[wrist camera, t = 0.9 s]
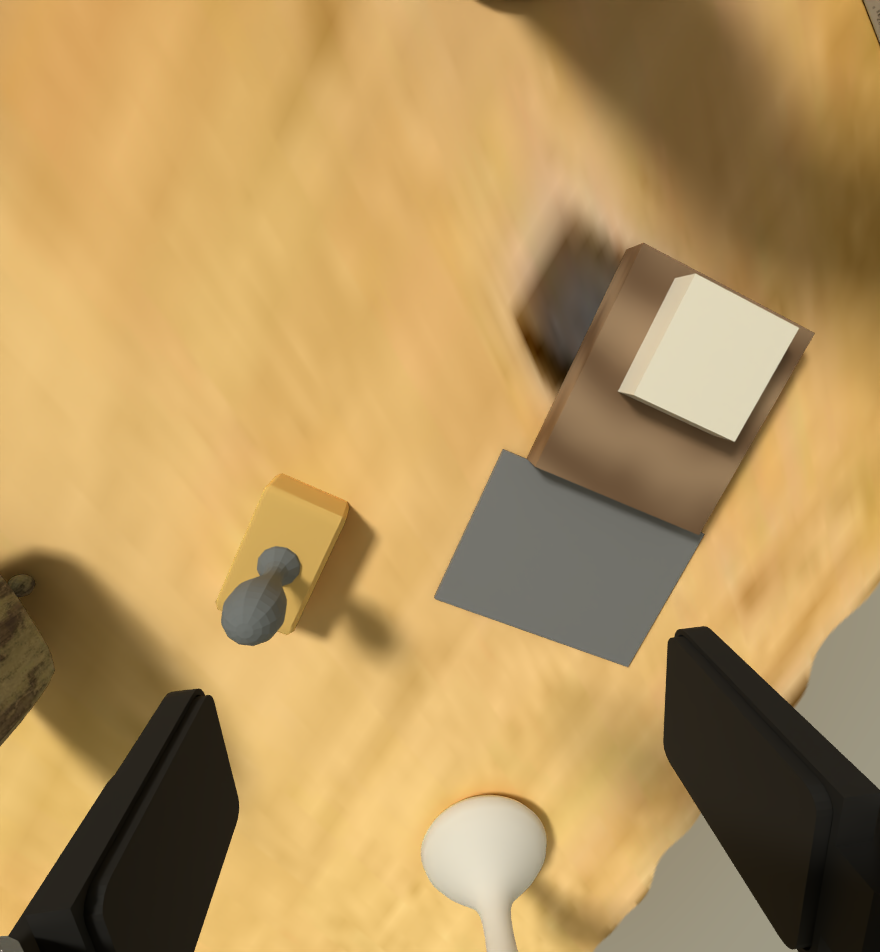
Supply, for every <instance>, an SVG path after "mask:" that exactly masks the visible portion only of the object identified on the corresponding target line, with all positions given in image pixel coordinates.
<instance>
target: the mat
mask: <svg viewBox="0 0 880 952" xmlns="http://www.w3.org/2000/svg"><path fill="white" fill-rule="evenodd" d="M703 536H704V534H703V533H702V532H700V534H699V535H697V534H695V533H693V532H690V531H688V530H685V529H683V528H681V527H678V526H676V525H673V524H671V523H669V522H666V521H664V520H661V519H659V518H657V517H654V516H652V515H649V514H647V513H645V512H642V511H640V510H638V509H635V508H633V507H630V506H628V505H626V504H623V503H621V502H618V501H616V500H614V499H611V498H609V497H606V496H604V495H602V494H599V493H597V492H595V491H592V490H590V489H587V488H585V487H583V486H580V485H578V484H575V483H573V482H571V481H568V480H566V479H563V478H561V477H559V476H556V475H554V474H551V473H549V472H547V471H544V470H542V469H540V468H537V467H535V466H534V465H533V464H532V463H531V462H530V461H528V460H527V459H526V458H523V457H521V456H519V455H516V454H514V453H511V452H509V451H507V450H504V449H503V450H502V452H501V454H500V456H499V458H498V461H497V463H496V465H495V467H494V469H493V471H492V473H491V476H490V478H489V480H488V482H487V484H486V486H485V488H484V491H483V493H482V495H481V497H480V499H479V501H478V504H477V506H476V508H475V510H474V512H473V514H472V516H471V519H470V521H469V523H468V525H467V527H466V529H465V531H464V534H463V536H462V538H461V540H460V542H459V544H458V546H457V549H456V551H455V553H454V555H453V557H452V559H451V562H450V564H449V566H448V568H447V570H446V572H445V574H444V577H443V579H442V581H441V583H440V585H439V587H438V589H437V592H436V594H435V596H434V598H435V599H437V600H439V601H442V602H445V603H448V604H451V605H454V606H456V607H459V608H462V609H465V610H468V611H471V612H473V613H476V614H479V615H482V616H485V617H488V618H490V619H493V620H496V621H499V622H502V623H505V624H507V625H510V626H513V627H516V628H519V629H522V630H524V631H527V632H530V633H533V634H536V635H539V636H541V637H544V638H547V639H550V640H553V641H556V642H558V643H561V644H564V645H567V646H570V647H573V648H575V649H578V650H581V651H584V652H587V653H590V654H592V655H595V656H598V657H601V658H604V659H607V660H609V661H612V662H615V663H618V664H621V665H623V666H626V667H628V666H629V664H630V663H631V661H632V659H633V657H634V656H635V654H636V652H637V651H638V649H639V647H640V645H641V644H642V642H643V640H644V638H645V637H646V635H647V633H648V631H649V630H650V628H651V626H652V624H653V623H654V621H655V619H656V618H657V616H658V614H659V612H660V611H661V609H662V607H663V605H664V604H665V602H666V600H667V598H668V597H669V595H670V593H671V592H672V590H673V588H674V586H675V585H676V583H677V581H678V579H679V578H680V576H681V574H682V572H683V571H684V569H685V567H686V565H687V564H688V562H689V560H690V559H691V557H692V555H693V553H694V552H695V550H696V548H697V546H698V545H699V543H700V541H701V539H702V538H703Z"/></svg>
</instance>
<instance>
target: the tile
mask: <svg viewBox="0 0 880 952" xmlns="http://www.w3.org/2000/svg"><path fill="white" fill-rule="evenodd" d="M798 329H799V328H798V327H796V326H795V325H793V324H791V323H789V322H787V321H785V320H783V319H781V318H779V317H777V316H776V315H774V314H772V313H770V312H768V311H766V310H764V309H762V308H760V307H758V306H757V305H755V304H753V303H751V302H749V301H747V300H745V299H743V298H741V297H739V296H737V295H736V294H734V293H732V292H730V291H728V290H726V289H724V288H722V287H720V286H718V285H717V284H715V283H713V282H711V281H709V280H707V279H705V278H703V277H701V276H699V275H698V274H696V273H695V274H691V275H687V276H682V277H678V278H675V279H674V281H673V283H672V285H671V287H670V289H669V291H668V293H667V295H666V297H665V299H664V301H663V303H662V305H661V307H660V309H659V311H658V313H657V315H656V317H655V319H654V321H653V323H652V325H651V327H650V329H649V331H648V333H647V335H646V337H645V339H644V341H643V343H642V345H641V347H640V348H639V350H638V352H637V354H636V356H635V358H634V360H633V362H632V364H631V366H630V368H629V370H628V372H627V374H626V376H625V378H624V380H623V382H622V384H621V386H620V388H619V390H618V392H620V393H622V394H625V395H627V396H629V397H631V398H633V399H635V400H638V401H640V402H642V403H644V404H646V405H648V406H651V407H653V408H655V409H657V410H659V411H661V412H663V413H666V414H668V415H670V416H672V417H674V418H676V419H679V420H681V421H683V422H685V423H687V424H689V425H692V426H694V427H696V428H698V429H700V430H702V431H705V432H707V433H709V434H711V435H713V436H717V437H720V438H723V439H727V440H730V441H734V442H735V441H736V439H737V437H738V435H739V433H740V432H741V430H742V428H743V426H744V425H745V423H746V421H747V419H748V418H749V416H750V414H751V412H752V410H753V409H754V407H755V405H756V403H757V402H758V400H759V398H760V396H761V395H762V393H763V391H764V389H765V388H766V386H767V384H768V382H769V380H770V379H771V377H772V375H773V373H774V372H775V370H776V368H777V366H778V365H779V363H780V361H781V359H782V357H783V356H784V354H785V352H786V350H787V349H788V347H789V345H790V343H791V342H792V340H793V338H794V336H795V335H796V333H797V331H798Z"/></svg>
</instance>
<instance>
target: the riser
mask: <svg viewBox="0 0 880 952" xmlns="http://www.w3.org/2000/svg"><path fill="white" fill-rule="evenodd" d="M695 273H696V274H698V275H699V276H701V277H703V278H705V279H707V280H709V281H711V282H713V283H715V284H717V285H718V286H720V287H722V288H724V289H726V290H728V291H730V292H732V293H734V294H736V295H737V296H739V297H741V298H743V299H745V300H747V301H749V302H751V303H753V304H755V305H757V306H758V307H760V308H762V309H764V310H766V311H768V312H770V313H772V314H774V315H776V316H777V317H779V318H781V319H783V320H785V321H787V322H789V323H791V324H793V325H795V326H796V327H798V328H799V329H798V331H797V333H796V335H795V336H794V338H793V340H792V342H791V343H790V345H789V347H788V349H787V350H786V352H785V354H784V356H783V357H782V359H781V361H780V363H779V365H778V366H777V368H776V370H775V372H774V373H773V375H772V377H771V379H770V380H769V382H768V384H767V386H766V388H765V389H764V391H763V393H762V395H761V396H760V398H759V400H758V402H757V403H756V405H755V407H754V409H753V410H752V412H751V414H750V416H749V418H748V419H747V421H746V423H745V425H744V426H743V428H742V430H741V432H740V433H739V435H738V437H737V439H736V441H735V442H734V441H730V440H727V439H723V438H720V437H717V436H713V435H711V434H709V433H707V432H705V431H702V430H700V429H698V428H696V427H694V426H692V425H689V424H687V423H685V422H683V421H681V420H679V419H676V418H674V417H672V416H670V415H668V414H666V413H663V412H661V411H659V410H657V409H655V408H653V407H651V406H648V405H646V404H644V403H642V402H640V401H638V400H635V399H633V398H631V397H629V396H627V395H625V394H622V393H620V392H618V390H619V388H620V386H621V384H622V382H623V380H624V378H625V376H626V374H627V372H628V370H629V368H630V366H631V364H632V362H633V360H634V358H635V356H636V354H637V352H638V350H639V348H640V347H641V345H642V343H643V341H644V339H645V337H646V335H647V333H648V331H649V329H650V327H651V325H652V323H653V321H654V319H655V317H656V315H657V313H658V311H659V309H660V307H661V305H662V303H663V301H664V299H665V297H666V295H667V293H668V291H669V289H670V287H671V285H672V283H673V281H674V279H675V278H678V277H682V276H687V275H691V274H695ZM814 334H815V333H814V332H812V331H810V330H808V329H806V328H804V327H802V326H800V325H798V324H797V323H795V322H793V321H791V320H789V319H787V318H785V317H783V316H781V315H779V314H778V313H776V312H774V311H772V310H770V309H768V308H766V307H764V306H762V305H761V304H759V303H757V302H755V301H753V300H751V299H749V298H747V297H745V296H743V295H742V294H740V293H738V292H736V291H734V290H732V289H730V288H728V287H726V286H724V285H723V284H721V283H719V282H717V281H715V280H713V279H711V278H709V277H707V276H706V275H704V274H702V273H700V272H698V271H696V270H694V269H692V268H690V267H688V266H687V265H685V264H683V263H681V262H679V261H677V260H675V259H673V258H671V257H670V256H668V255H666V254H664V253H662V252H660V251H658V250H656V249H654V248H652V247H651V246H649V245H647V244H645V243H642V244H639V245H637V246H634V247H632V248H629V249H627V250H626V252H625V254H624V256H623V258H622V260H621V262H620V265H619V267H618V269H617V271H616V273H615V275H614V277H613V279H612V281H611V283H610V285H609V288H608V290H607V292H606V294H605V296H604V298H603V300H602V302H601V304H600V306H599V308H598V311H597V313H596V315H595V317H594V319H593V321H592V323H591V325H590V327H589V329H588V331H587V334H586V336H585V338H584V340H583V342H582V344H581V346H580V348H579V350H578V352H577V354H576V357H575V359H574V361H573V363H572V365H571V367H570V369H569V371H568V373H567V375H566V377H565V380H564V382H563V384H562V386H561V388H560V390H559V392H558V394H557V396H556V398H555V400H554V403H553V405H552V407H551V409H550V411H549V413H548V415H547V417H546V419H545V421H544V424H543V426H542V428H541V430H540V432H539V434H538V436H537V438H536V440H535V442H534V444H533V447H532V449H531V451H530V453H529V455H528V457H527V460H528V461H530V462H531V463H532V464H533V465H534V466H535V467H537V468H540V469H542V470H544V471H547V472H549V473H551V474H554V475H556V476H559V477H561V478H563V479H566V480H568V481H571V482H573V483H575V484H578V485H580V486H583V487H585V488H587V489H590V490H592V491H595V492H597V493H599V494H602V495H604V496H606V497H609V498H611V499H614V500H616V501H618V502H621V503H623V504H626V505H628V506H630V507H633V508H635V509H638V510H640V511H642V512H645V513H647V514H649V515H652V516H654V517H657V518H659V519H661V520H664V521H666V522H669V523H671V524H673V525H676V526H678V527H681V528H683V529H685V530H688V531H690V532H693V533H695V534H697V535H699V534H700V532H701V531H702V529H703V527H704V525H705V524H706V522H707V520H708V519H709V517H710V515H711V513H712V512H713V510H714V508H715V506H716V505H717V503H718V501H719V499H720V498H721V496H722V494H723V492H724V491H725V489H726V487H727V485H728V484H729V482H730V480H731V478H732V477H733V475H734V473H735V471H736V470H737V468H738V466H739V465H740V463H741V461H742V459H743V458H744V456H745V454H746V452H747V451H748V449H749V447H750V445H751V444H752V442H753V440H754V438H755V437H756V435H757V433H758V431H759V430H760V428H761V426H762V424H763V423H764V421H765V419H766V417H767V416H768V414H769V412H770V410H771V409H772V407H773V405H774V404H775V402H776V400H777V398H778V397H779V395H780V393H781V391H782V390H783V388H784V386H785V384H786V383H787V381H788V379H789V377H790V376H791V374H792V372H793V370H794V369H795V367H796V365H797V363H798V362H799V360H800V358H801V356H802V355H803V353H804V351H805V349H806V348H807V346H808V344H809V343H810V341H811V339H812V337H813V336H814Z"/></svg>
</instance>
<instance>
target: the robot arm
mask: <svg viewBox="0 0 880 952" xmlns="http://www.w3.org/2000/svg"><path fill="white" fill-rule="evenodd" d="M663 743H664V750H665V753H666V756H667V758H668V760H669V762H670V764H671V766H672V767H673V769H674V770H675V772H676V774H677V775H678V777H679V778H680V780H681V781H682V783H683V785H684V786H685V788H686V789H687V791H688V793H689V794H690V796H691V797H692V799H693V801H694V802H695V804H696V805H697V807H698V808H699V810H700V812H701V813H702V815H703V816H704V818H705V819H706V821H707V823H708V824H709V826H710V828H711V829H712V831H713V832H714V834H715V835H716V837H717V838H718V840H719V842H720V843H721V845H722V847H723V848H724V850H725V851H726V853H727V854H728V856H729V858H730V859H731V861H732V862H733V864H734V866H735V867H736V869H737V870H738V872H739V874H740V875H741V877H742V878H743V880H744V881H745V883H746V885H747V886H748V888H749V889H750V891H751V892H752V894H753V896H754V897H755V899H756V900H757V902H758V904H759V905H760V907H761V908H762V910H763V912H764V913H765V915H766V916H767V918H768V920H769V921H770V923H771V924H772V926H773V927H774V929H775V931H776V932H777V934H778V935H779V937H780V938H781V940H782V941H783V942H784V944H785V945H786V946H787V947H788V948H790V949H797V950H798V952H880V790H879V789H878V788H877V787H876V786H875V785H874V784H873V783H872V782H871V781H870V780H869V779H868V778H867V777H866V776H865V775H864V774H863V773H861V772H860V771H859V770H858V769H857V768H856V767H855V766H854V765H853V764H852V763H851V762H850V761H849V760H848V759H847V758H845V756H844V755H842V754H841V753H840V752H839V751H838V750H837V749H836V748H835V747H834V746H833V745H832V744H831V743H830V742H829V741H828V740H827V739H826V738H825V737H824V736H822V735H821V734H820V733H819V732H818V731H817V730H816V729H815V728H814V727H813V726H812V725H811V724H810V723H809V722H808V721H807V720H806V719H805V718H804V717H803V716H801V715H800V714H799V713H798V712H797V711H796V710H795V709H794V708H793V707H792V706H791V705H790V704H789V703H788V702H787V701H786V700H785V699H784V698H783V697H781V696H780V695H779V694H778V693H777V692H776V691H775V690H774V689H773V688H772V687H771V686H770V685H769V684H768V683H767V682H766V681H765V680H764V679H763V678H761V677H760V676H759V675H758V674H757V673H756V672H755V671H754V670H753V669H752V668H751V667H750V666H749V665H748V664H747V663H746V662H745V661H744V660H743V659H741V658H740V657H739V656H738V655H737V654H736V653H735V652H734V651H733V650H732V649H731V648H730V647H729V646H728V645H727V644H726V643H725V642H724V641H723V640H721V639H720V638H719V637H718V636H717V635H716V634H715V633H714V632H713V631H712V630H711V629H710V628H708V627H705V626H702V627H694V628H686V629H679V630H677V631H676V633H675V637H673V638H670V639H669V641H668V649H667V671H666V694H665V716H664V738H663ZM238 814H239V800H238V795H237V791H236V787H235V783H234V779H233V775H232V771H231V767H230V763H229V759H228V755H227V751H226V747H225V743H224V739H223V735H222V731H221V727H220V723H219V719H218V715H217V711H216V707H215V703H214V700H213V698H212V696H210V695H206V696H205V695H204V692H203V691H202V690H201V689H192V690H183V691H175V692H170V693H168V694H167V695H166V696H165V698H164V699H163V701H162V702H161V704H160V705H159V707H158V709H157V710H156V712H155V713H154V715H153V716H152V718H151V719H150V721H149V723H148V724H147V726H146V727H145V729H144V730H143V732H142V733H141V735H140V737H139V738H138V740H137V741H136V743H135V744H134V746H133V747H132V749H131V751H130V752H129V754H128V755H127V757H126V758H125V760H124V762H123V763H122V765H121V766H120V768H119V769H118V771H117V772H116V774H115V775H114V776H113V777H112V778H111V779H110V781H109V782H108V783H107V784H106V786H105V787H104V789H103V790H102V792H101V794H100V795H99V797H98V798H97V800H96V801H95V803H94V804H93V806H92V807H91V809H90V811H89V812H88V814H87V815H86V817H85V818H84V820H83V821H82V823H81V824H80V826H79V828H78V829H77V831H76V832H75V834H74V835H73V837H72V838H71V840H70V841H69V843H68V845H67V846H66V848H65V849H64V851H63V852H62V854H61V855H60V857H59V858H58V860H57V862H56V863H55V865H54V866H53V868H52V869H51V871H50V872H49V874H48V875H47V877H46V879H45V880H44V882H43V883H42V885H41V886H40V888H39V889H38V891H37V892H36V894H35V896H34V897H33V899H32V900H31V902H30V903H29V905H28V906H27V908H26V909H25V911H24V913H23V914H22V916H21V917H20V919H19V920H18V922H17V923H16V925H15V926H14V928H13V930H12V931H11V933H10V934H9V936H0V952H194V950H195V947H196V944H197V941H198V938H199V935H200V932H201V929H202V926H203V923H204V920H205V917H206V914H207V911H208V908H209V905H210V902H211V899H212V896H213V893H214V890H215V887H216V884H217V881H218V878H219V875H220V872H221V869H222V866H223V863H224V860H225V857H226V853H227V850H228V847H229V844H230V841H231V838H232V835H233V832H234V829H235V826H236V823H237V820H238Z"/></svg>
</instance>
